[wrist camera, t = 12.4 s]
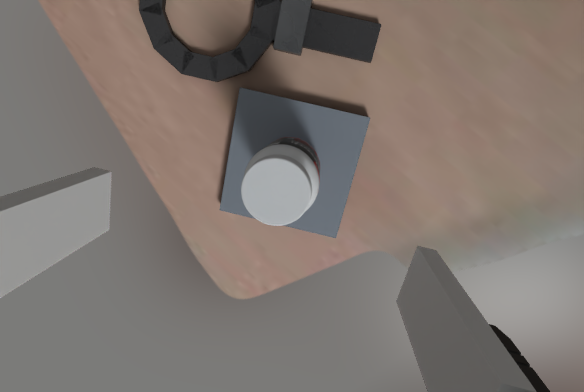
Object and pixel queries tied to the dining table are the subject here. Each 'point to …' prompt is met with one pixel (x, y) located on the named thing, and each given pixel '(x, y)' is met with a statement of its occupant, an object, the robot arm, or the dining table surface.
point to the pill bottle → (281, 181)
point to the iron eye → (265, 37)
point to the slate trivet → (310, 128)
